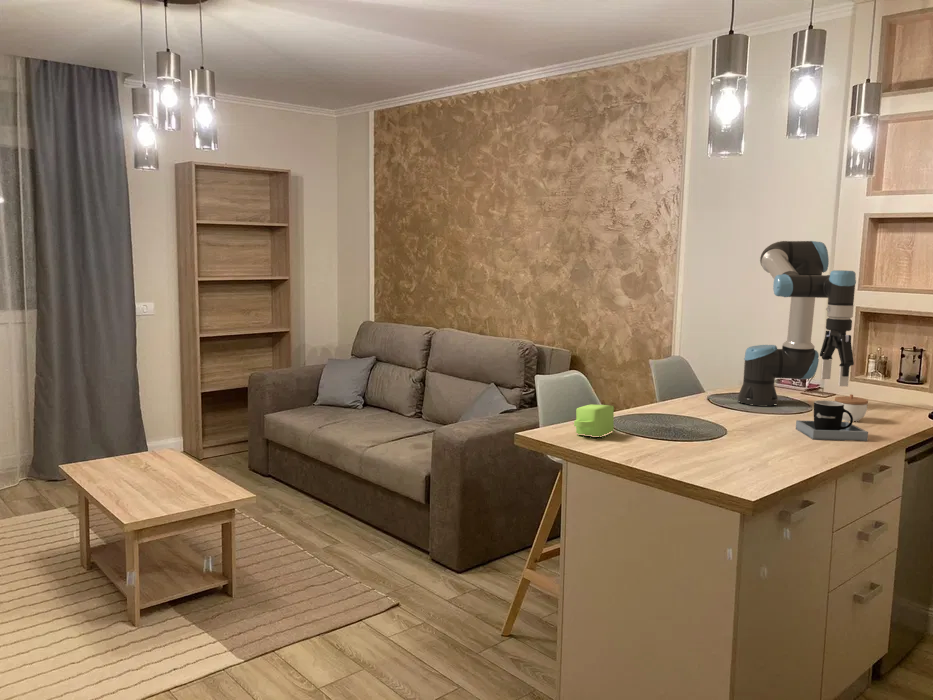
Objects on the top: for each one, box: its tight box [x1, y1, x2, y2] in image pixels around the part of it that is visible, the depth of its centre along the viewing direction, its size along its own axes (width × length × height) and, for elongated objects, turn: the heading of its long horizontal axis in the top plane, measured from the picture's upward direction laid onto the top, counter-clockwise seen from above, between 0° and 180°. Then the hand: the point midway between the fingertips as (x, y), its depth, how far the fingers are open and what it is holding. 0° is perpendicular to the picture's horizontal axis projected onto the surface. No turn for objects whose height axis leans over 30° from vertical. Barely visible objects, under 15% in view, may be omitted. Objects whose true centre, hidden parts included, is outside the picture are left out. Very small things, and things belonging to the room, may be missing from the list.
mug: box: [813, 399, 853, 430], centre depth 247 cm, size 12×9×10 cm
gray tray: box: [795, 419, 869, 442], centre depth 248 cm, size 15×17×3 cm
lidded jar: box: [834, 393, 869, 423], centre depth 271 cm, size 11×11×9 cm
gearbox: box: [573, 403, 615, 437], centre depth 244 cm, size 18×10×10 cm, turn 145°
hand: (834, 382), depth 246 cm, fingers open, 13 cm apart
